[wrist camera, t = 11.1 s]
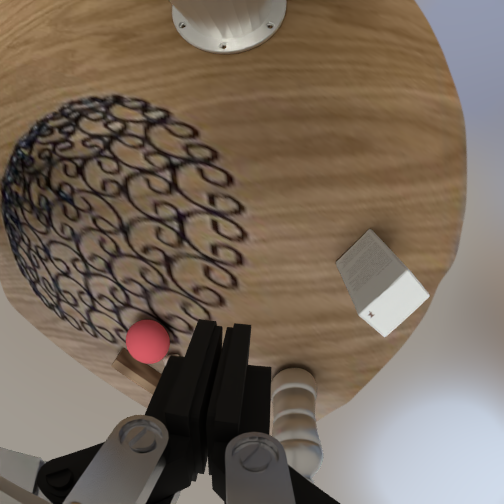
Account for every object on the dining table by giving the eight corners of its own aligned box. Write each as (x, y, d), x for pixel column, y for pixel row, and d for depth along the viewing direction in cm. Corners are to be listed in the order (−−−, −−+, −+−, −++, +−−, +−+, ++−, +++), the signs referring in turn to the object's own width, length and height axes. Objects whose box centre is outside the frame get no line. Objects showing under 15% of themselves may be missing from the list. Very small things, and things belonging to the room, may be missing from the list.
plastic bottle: (309, 394, 46) (318, 507, 27) (266, 389, 46) (260, 504, 27) (320, 364, 43) (337, 484, 25) (274, 358, 43) (271, 482, 25)
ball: (123, 366, 39) (138, 338, 45) (163, 376, 39) (176, 346, 44) (115, 335, 36) (133, 307, 42) (158, 345, 36) (173, 315, 41)
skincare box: (356, 283, 38) (383, 340, 27) (334, 261, 38) (356, 315, 27) (391, 249, 37) (432, 296, 25) (370, 226, 36) (407, 267, 25)
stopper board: (118, 354, 46) (111, 366, 43) (123, 347, 45) (116, 359, 42) (200, 407, 48) (196, 420, 46) (206, 402, 48) (203, 415, 45)
